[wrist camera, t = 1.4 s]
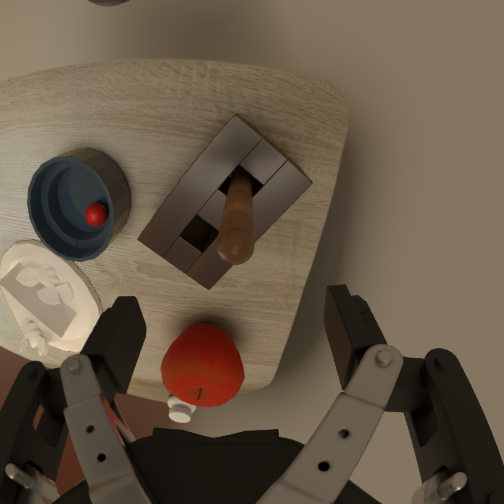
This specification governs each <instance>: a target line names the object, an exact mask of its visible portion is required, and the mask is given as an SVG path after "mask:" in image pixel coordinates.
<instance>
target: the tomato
mask: <svg viewBox="0 0 504 504" xmlns="http://www.w3.org/2000/svg"><path fill="white" fill-rule="evenodd" d="M85 218H86V221H87V222H88V224H90V225H91V226H95V227H97V226H100V225H102V224H103V223H104V222H105V221H106V218H107V210H106V208H105V207H104V206H103V205H102V204H100V203H93V204H91V205H90V206H88V208H87V209H86V212H85Z"/></svg>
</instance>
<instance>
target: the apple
mask: <svg viewBox="0 0 504 504" xmlns="http://www.w3.org/2000/svg"><path fill="white" fill-rule="evenodd" d="M161 374H162V380H163V383H164V385H165V387H166V389H167V390H168V391H169V392H170V393H172V394H173V395H174V396H175V397H177V398H178V399H179V400H181V401H183V402H185V403H187V404H190V405H195V406H200V407H214V406H219V405H221V404H223V403H225V402H227V401H229V400H230V399H232V398H234V397H235V396H236V394H237V393H238V391H239V389H240V387H241V385H242V383H243V380H244V378H245V377H244V368H243V364H242V361H241V358H240V354H239V351H238V350H237V348H236V346H235V344H234V343H233V341H232V339H231V338H230V336H229V335H228V334H227V333H226V332H225V331H224V330H222V329H221V328H219V327H217V326H214V325H211V324H207V323H205V324H195V325H192V326H190V327H188V328H187V329H186V330H185V331H184V332H183V333H182V334H181V335H180V336H179V337H178V338H177V339H176V340H175V341H174V342H173V343H172V344H171V346H170V347H169V349H168V351H167V353H166V354H165V356H164V358H163V361H162V364H161Z"/></svg>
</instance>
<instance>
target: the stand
mask: <svg viewBox="0 0 504 504" xmlns="http://www.w3.org/2000/svg"><path fill="white" fill-rule="evenodd" d="M238 165H240V166H241V167H242V168H244V169H245V170H246V171H247V172H248V173H250V174H251V175H252V176H253V178H252V202H253V225H254V243H255V242H256V241H257V240H258V239H259V238H260V237H261V236H262V235H263V234H264V233H265V232H266V231H267V230H268V229H269V228H270V227H271V226H272V225H273V224H274V223H275V221H276V220H277V219H278V218H279V217H280V216H281V215H282V214H283V213H284V212H285V211H286V210H287V209H288V208H289V207H290V206H291V205H292V204H293V203H294V202H295V201H296V200H297V199H298V198H299V197H300V196H301V195H302V194H303V193H304V192H305V191H306V190H307V189H308V188H309V187H310V186H311V184H312V183H313V182H312V181H311V180H310V178H309V177H308V176H307V175H306V174H305V172H304V171H303V170H302V169H301V168H300V166H299V165H297V164H296V163H295V162H294V161H293V160H292V159H291V158H290V157H289V156H287V155H286V154H285V153H284V152H283V151H282V150H281V149H279V148H278V147H277V146H276V145H275V144H274V143H273V142H272V141H270V140H269V139H268V138H267V137H266V136H265V135H263V134H262V133H261V132H260V131H259V130H258V129H256V128H255V127H254V126H253V125H252V124H250V123H249V122H248V121H247V120H245V119H244V118H243V117H242V116H241V115H239V114H238V113H237V114H235V115H234V116H233V117H232V118H231V119H230V120H229V121H228V122H227V124H226V125H225V126H224V127H223V128H222V129H221V130H220V132H219V133H218V134H217V135H216V136H215V137H214V139H213V140H212V141H211V142H210V143H209V145H208V146H207V147H206V148H205V149H204V151H203V152H202V153H201V154H200V156H199V157H198V158H197V159H196V161H195V162H194V163H193V164H192V166H191V167H190V168H189V169H188V171H187V172H186V173H185V174H184V176H183V177H182V178H181V180H180V181H179V182H178V183H177V185H176V186H175V187H174V189H173V190H172V191H171V193H170V194H169V195H168V197H167V198H166V199H165V201H164V202H163V203H162V205H161V206H160V208H159V209H158V210H157V212H156V213H155V215H154V216H153V217H152V219H151V220H150V222H149V223H148V224H147V226H146V227H145V229H144V230H143V232H142V233H141V235H140V236H139V237H138V240H139V241H140V242H142V243H143V244H144V245H146V246H147V247H148V248H150V249H151V250H152V251H154V252H155V253H157V254H158V255H159V256H161V257H163V258H164V259H165V260H167V261H168V262H169V263H171V264H172V265H174V266H175V267H176V268H178V269H179V270H181V271H182V272H183V273H185V274H186V275H188V276H189V277H191V278H192V279H193V280H195V281H196V282H198V283H199V284H201V285H202V286H204V287H205V288H207V289H208V290H210V289H211V288H212V287H213V286H214V284H215V283H216V282H217V281H218V280H219V279H220V278H221V277H222V276H223V275H224V274H225V273H226V272H227V271H228V270H229V269H230V268H231V267H232V266H233V265H232V264H229V263H226V262H225V261H223V260H222V259H221V258H220V256H219V254H218V252H217V246H216V245H217V239H218V234H219V230H220V225H221V220H222V216H223V212H224V207H225V203H226V198H227V194H228V190H229V185H230V181H231V177H230V176H229V175H230V174H231V173H232V172H233V171H234V169H235V168H236V167H237V166H238ZM198 215H199V216H200V217H199V216H198ZM202 218H203V219H204V220H203V219H202ZM207 222H208V223H207Z"/></svg>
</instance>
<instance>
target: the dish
mask: <svg viewBox="0 0 504 504" xmlns="http://www.w3.org/2000/svg"><path fill="white" fill-rule="evenodd" d="M0 277H1V280H0V287H1V289H2V291H3V293H4V296H5V298H6V300H7V302H8V304H9V306H10V308H11V310H12V312H13V314H14V316H15V318H16V320H17V322H18V324H19V325H20V327H21V329H22V332H23V334H24V335H25V337H24V338H23V339H22V341H21V344H20V354H21V353H22V352H23V351H24V349H25V348H26V345H27V342H29V343H30V345H31V347H32V348H35V347H37V348H38V354H39V355H41V356H43V355H46V354H47V352H48V348H49V345H52V346H54V347H57V348H59V349H61V350H66V351H75V352H79V351H81V350H82V348H83V346H84V344H85V342H86V340H87V339H88V337H89V335H90V333H91V332H92V331H93V328H94V326H95V325H96V322H97V321H98V319H99V317H100V315H101V314H102V313H103V312H102V308H101V303H100V300H99V298H98V296H97V294H96V292H95V291H94V289H93V287H92V285H91V283H90V281H89V280H88V278H87V277H86V276H85V275H84V274H83V273H82V272H81V270H80V269H79V268H78V267H77V266H76V265H75V264H74V262H73V261H69V260H66V259H64V258H62V257H60V256H57V255H56V254H54V253H53V252H52V251H51V250H50V249H48V248H47V247H46V246H45V245H44V244H43V243H42V242H38V241H35V240H27V241H20V242H17V243H16V244H15V245H13V246H12V247H11V248H10V249H9V250H8V251H7V252H6V253H5V254H4V256H3V259H2V262H1V266H0Z"/></svg>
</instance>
